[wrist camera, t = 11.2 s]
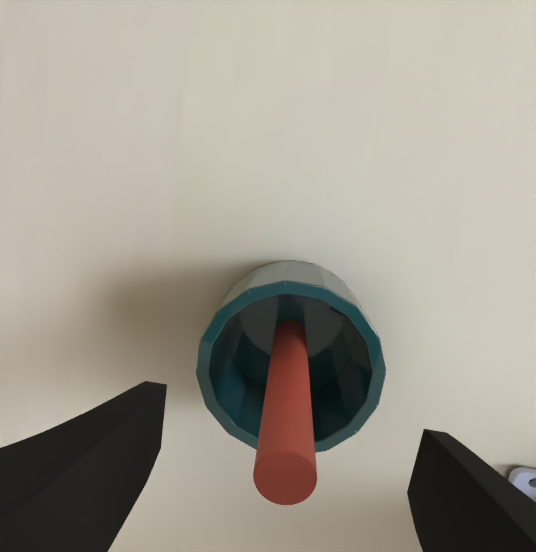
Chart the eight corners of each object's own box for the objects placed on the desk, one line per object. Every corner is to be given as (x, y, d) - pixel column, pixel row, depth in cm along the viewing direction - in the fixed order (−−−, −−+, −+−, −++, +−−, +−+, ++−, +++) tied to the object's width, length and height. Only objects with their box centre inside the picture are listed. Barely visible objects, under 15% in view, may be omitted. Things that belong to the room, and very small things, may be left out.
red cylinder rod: (308, 321, 18) (322, 456, 9) (302, 351, 18) (311, 510, 9) (276, 316, 18) (258, 445, 9) (271, 346, 18) (249, 499, 9)
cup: (377, 273, 18) (403, 298, 14) (348, 407, 19) (363, 469, 15) (228, 249, 18) (207, 267, 14) (211, 384, 20) (188, 439, 15)
